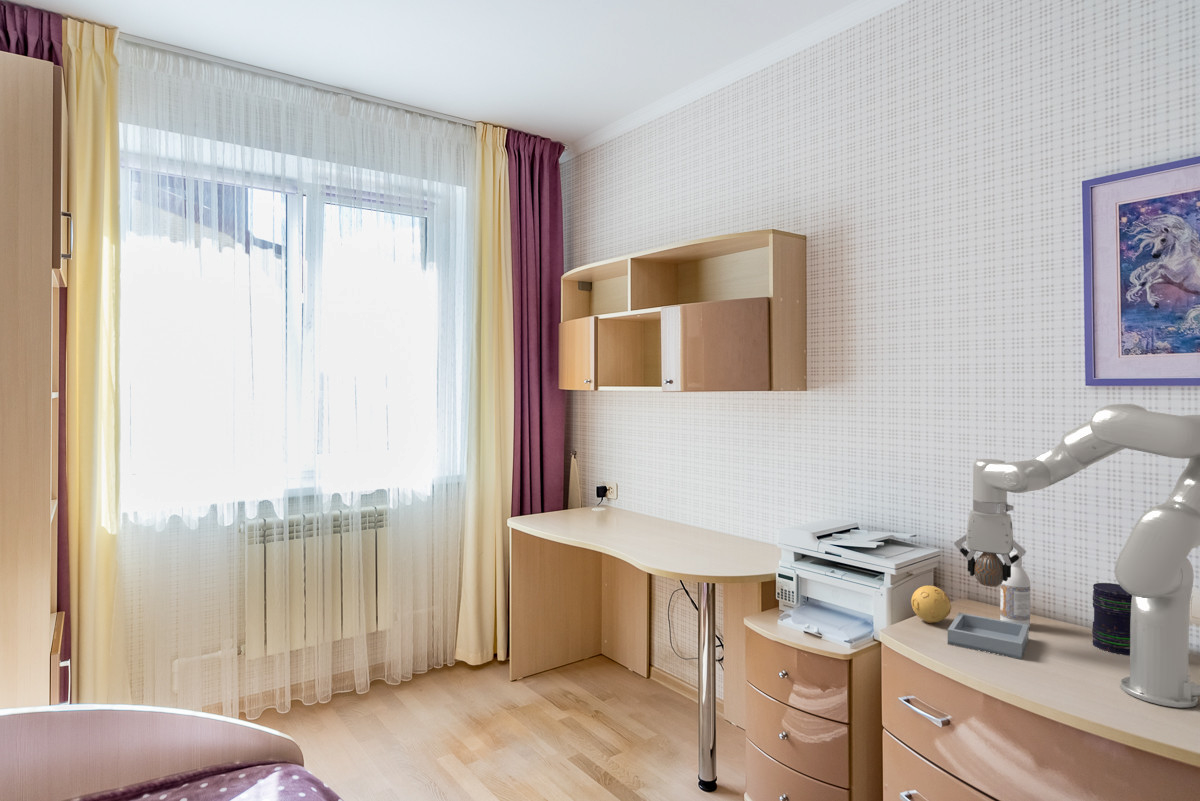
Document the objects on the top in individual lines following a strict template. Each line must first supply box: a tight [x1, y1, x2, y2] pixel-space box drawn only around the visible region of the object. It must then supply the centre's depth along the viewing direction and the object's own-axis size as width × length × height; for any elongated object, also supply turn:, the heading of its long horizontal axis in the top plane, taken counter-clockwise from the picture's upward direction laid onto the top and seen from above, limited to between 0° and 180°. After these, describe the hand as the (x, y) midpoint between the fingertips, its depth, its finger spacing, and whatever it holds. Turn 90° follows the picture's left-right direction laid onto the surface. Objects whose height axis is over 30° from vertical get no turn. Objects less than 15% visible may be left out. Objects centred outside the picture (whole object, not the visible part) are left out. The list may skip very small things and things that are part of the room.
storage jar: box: [1091, 582, 1132, 656], centre depth 168 cm, size 10×10×15 cm
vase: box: [974, 552, 1004, 588], centre depth 171 cm, size 7×7×9 cm
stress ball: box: [910, 585, 952, 624], centre depth 186 cm, size 10×10×10 cm
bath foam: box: [999, 551, 1031, 628], centre depth 183 cm, size 7×7×20 cm
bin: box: [947, 612, 1030, 661], centre depth 172 cm, size 16×16×4 cm
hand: (988, 576), depth 171 cm, fingers closed on vase, 6 cm apart
